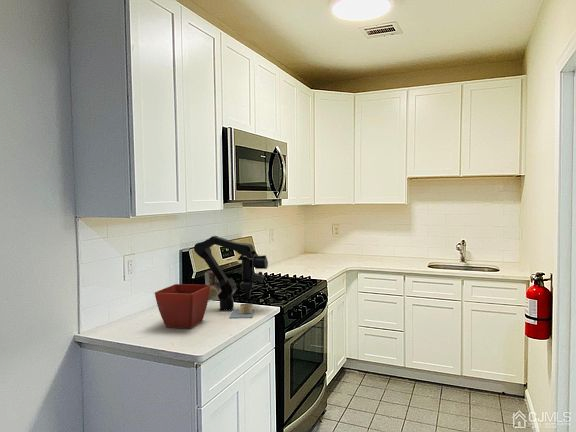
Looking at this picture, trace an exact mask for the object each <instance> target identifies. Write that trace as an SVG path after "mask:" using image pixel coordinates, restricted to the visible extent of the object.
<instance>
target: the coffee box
mask: <svg viewBox="0 0 576 432" xmlns="http://www.w3.org/2000/svg"><path fill="white" fill-rule="evenodd" d="M204 281H205V284H204V285H210V292H209V298H208V301H220V299H219V298H218V294H219V293H220V292H221V288H220V284H219V281H218V280H217V278H216V277H215V275H214V274H213V272H212V271H211V270H207V271H205V272H204Z"/></svg>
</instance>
